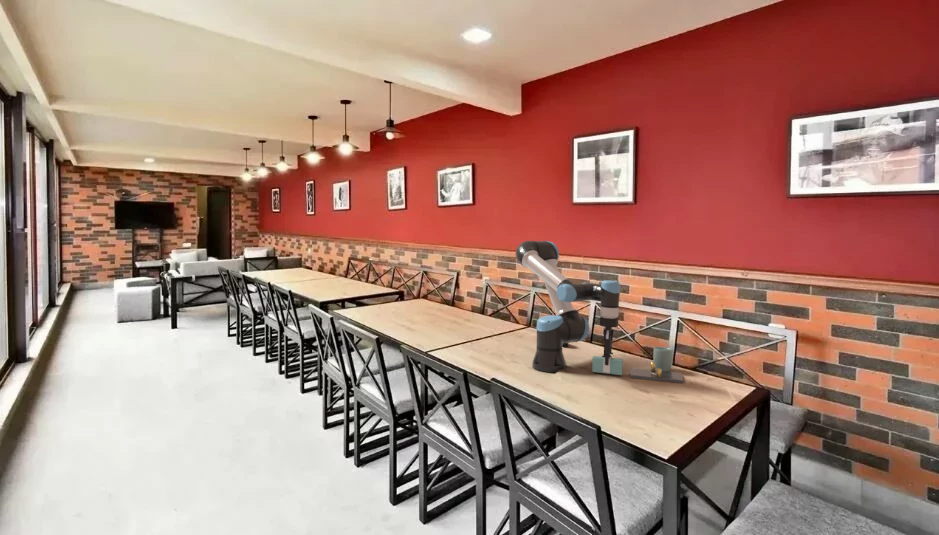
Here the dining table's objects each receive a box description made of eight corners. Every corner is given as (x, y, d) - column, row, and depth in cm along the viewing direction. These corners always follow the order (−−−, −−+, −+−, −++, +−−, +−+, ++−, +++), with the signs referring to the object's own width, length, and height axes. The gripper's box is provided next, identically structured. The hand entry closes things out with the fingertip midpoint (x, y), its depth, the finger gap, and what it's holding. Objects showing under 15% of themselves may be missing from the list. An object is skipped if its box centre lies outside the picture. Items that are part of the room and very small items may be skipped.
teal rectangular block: (592, 371, 194) (592, 355, 193) (593, 369, 197) (594, 353, 197) (621, 375, 189) (622, 358, 188) (622, 372, 192) (622, 356, 192)
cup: (674, 373, 195) (674, 350, 195) (655, 372, 197) (655, 349, 196) (669, 369, 203) (670, 347, 202) (651, 368, 204) (652, 346, 204)
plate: (630, 377, 188) (630, 366, 188) (631, 370, 199) (631, 360, 199) (683, 383, 181) (683, 371, 180) (680, 375, 192) (681, 364, 192)
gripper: (617, 320, 182) (614, 377, 184) (619, 314, 198) (617, 366, 200) (598, 319, 185) (595, 375, 186) (601, 313, 201) (599, 364, 202)
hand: (606, 370), depth 193 cm, fingers closed on teal rectangular block, 4 cm apart
